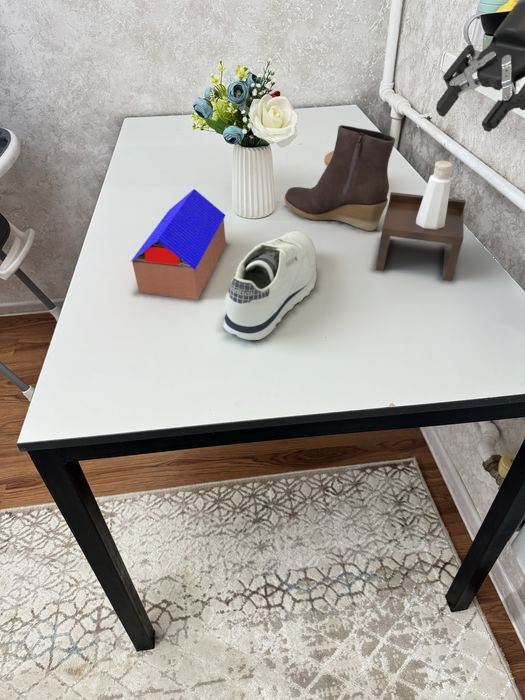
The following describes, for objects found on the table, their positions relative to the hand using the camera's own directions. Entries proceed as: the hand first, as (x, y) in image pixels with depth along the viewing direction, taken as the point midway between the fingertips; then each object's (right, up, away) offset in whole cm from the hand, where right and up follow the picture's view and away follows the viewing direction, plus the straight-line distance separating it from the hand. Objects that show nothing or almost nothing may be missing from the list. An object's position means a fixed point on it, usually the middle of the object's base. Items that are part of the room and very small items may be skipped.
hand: (461, 120), depth 73 cm
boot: (-14, -4, +38) cm, 40 cm away
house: (-45, -18, +23) cm, 54 cm away
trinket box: (-10, +5, +48) cm, 49 cm away
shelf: (+1, -16, +24) cm, 29 cm away
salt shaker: (+1, -11, +16) cm, 20 cm away
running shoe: (-27, -24, +16) cm, 40 cm away
